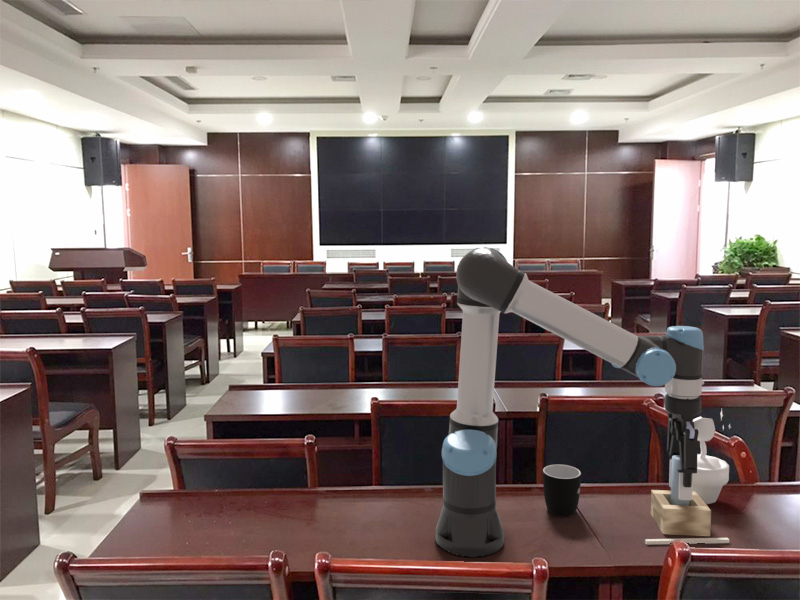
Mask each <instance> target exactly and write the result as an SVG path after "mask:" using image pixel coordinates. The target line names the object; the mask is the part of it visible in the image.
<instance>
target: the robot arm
mask: <svg viewBox="0 0 800 600" xmlns="http://www.w3.org/2000/svg"><path fill="white" fill-rule="evenodd" d="M455 275H456V276H455V277H456V283H457V297H456V299H457V300H456V304H457V306H458V307H459V308H460V309H461V310H462V319H461V320H462V321H461V322H462V323H461V336H460V351H459V366H458V367H459V368H458V382H457V383H458V384H457V399H456V400H457V401H456V408H455V409H454V410H453V411H452V412H451V413H450V414H449V424H448V425H449V426H448V427H449V428H448V435H447V436H446V437H445V438H444V440H443V443H442V448H441V458H442V502H443V503H442V504H443V505H442V509H441V511H440V514H439V518H438V522H437V524H436V527H435V542H436V544H437V546H438V545H439V546H440V547H441V548H440V547H439V546H438V547H439V548H440V549H442V548H443V549H444V550H443V549H442V550H443V551H445V550H446V551H449V552H451V553H454V554H457V555H456V556H458V555H462V556H461V557H464V556H469V557H468V558H478V557H477V556H481V557H486V556H485V555H487V556H490V555H493V554H494V553H496V552H499V551H500V550H501V549H502V548H503V546H504V543H505V532H504V528H503V525H502V521H501V519H500V515H499V512H498V510H497V503H496V501H497V499H496V498H497V487H496V486H497V454H498V453H497V452H498V451H497V448H498V433H499V432H498V431H499V418H498V415H496V414H495V412H493V411H494V410H493V409H494V395H495V394H494V393H495V383H496V382H495V380H496V369H497V368H496V367H497V354H498V353H497V351H498V337H499V325H500V324H499V323H500V314H501V313H503V314H509V313H513V314H515V315H517V316H518V317H521V318H523V319H525V320H527V321H529V322H531V323H532V324H535V325H536V326H539V327H540V328H542V329H544V330H546V331H548V332H551V333H552V334H554V335H556V336H558V337H560V338H562V339H564V340H565V341H568V342H569V343H572V344H574V345H576V346H577V347H579V348H581V349H583V350H585V351H588V352H589V353H591V354H593V355H595V356H597V357H599V358H601V359H603V360H604V361H606V362H609V363H611V366H612V367H614V368H616V369H621V370H623V371H625V372H627V373H629V374H631V375H633V376H635V377H637V378H638V379H639V380H640V381H641V382H642V383H645V384H646V385H649V386H652V387H662V386H664V391H665V393H666V394H665V395H664V409H665V411H667V438H666V439H667V440H666V453H667V454H668V457H669V469H668V470H669V471H668V472H669V473H668V477H669V478H668V483H669V484H668V486H669V488H671V471H672V456H674V455H680V463H681V470H678V473H679V492H678V499H679V500H692V488H693V473H697V454H698V441H697V439H698V433H699V432H698V429H694V428H695V427H694V422H693V419H694V418H693V417H694V416H698V415H700V414H701V413H702V397H701V395H702V393H703V391H702V390H703V387H702V386H703V385H705V381H704V380H703V365H704V364H703V362H704V351H705V347H704V333H703V331H702V329H701V328H699V327H694V326H689V325H675V326H674V325H672V326H669V327H667V329H666V333H665V334H663V335H637V334H635V333H632V332H630V331H628V330H626V329H624V328H623V327H621V326H618V325H616V324H614V323H613V322H611V321H610V320H607V319H605V318H603V317H601V316H600V315H597V314H595V313H594V312H591V311H589V310H588V309H585V308H584V307H582V306H580V305H577V304H575V303H574V302H572V301H570V300H568V299H566V298H564V297H562V296H560V295H558V294H556V293H554V292H553V291H551V290H548V289H547V288H545V287H542V286H540V285H539V284H537V283H535V282H533V281H532V280H529V277H528V275H527V273H526V272H523V270H520V269H518V268H517V267H515V266H514V265H512V264H510V263H509V262H508V260H507V258H506V257H505V255H504V254H503V253H501V252H500V251H498V250H497V249H495V248H492V247H487V246H484V247H483V246H482V247H476V248H474V249H471V250H469V251H468V252H467V253H466V254H465V255H463V256H462V258H461V259H460V261H459V262H458V265H457V267H456V273H455ZM446 551H445V552H446ZM449 552H448V553H449ZM451 553H450V554H451ZM492 553H493V554H492ZM454 554H453V555H454ZM489 554H490V555H489Z"/></svg>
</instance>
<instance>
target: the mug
mask: <svg viewBox="0 0 800 600" xmlns="http://www.w3.org/2000/svg"><path fill="white" fill-rule="evenodd" d="M581 480H582V472H581V471H580V470H579V469H578V468H576V467H574V466H571V465H568V464H550V465H546V466H545V467H544V468H543V469H542V482H543V483H542V486H543V496H544V503H545V506H546V509H547V511H548V512H549V513H550V514H551V515H554V516H556V517H562V518H565V517H572V516H573V515H574V514H575V513H576V512H577V509H578V507H579V502H580V501H579V500H580V494H581V487H582V486H581V485H582V483H581V482H582V481H581Z"/></svg>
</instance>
